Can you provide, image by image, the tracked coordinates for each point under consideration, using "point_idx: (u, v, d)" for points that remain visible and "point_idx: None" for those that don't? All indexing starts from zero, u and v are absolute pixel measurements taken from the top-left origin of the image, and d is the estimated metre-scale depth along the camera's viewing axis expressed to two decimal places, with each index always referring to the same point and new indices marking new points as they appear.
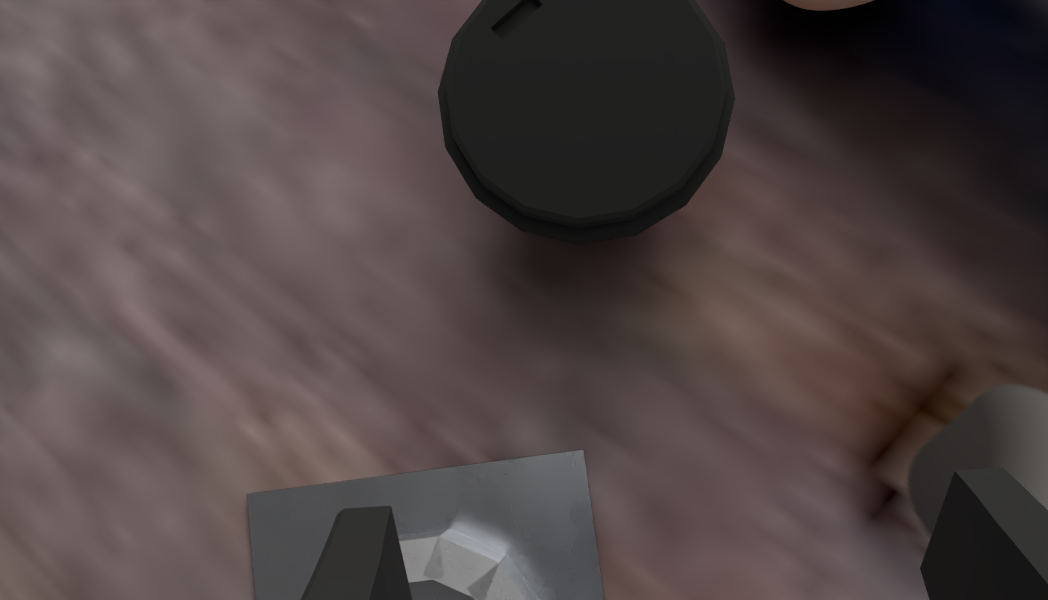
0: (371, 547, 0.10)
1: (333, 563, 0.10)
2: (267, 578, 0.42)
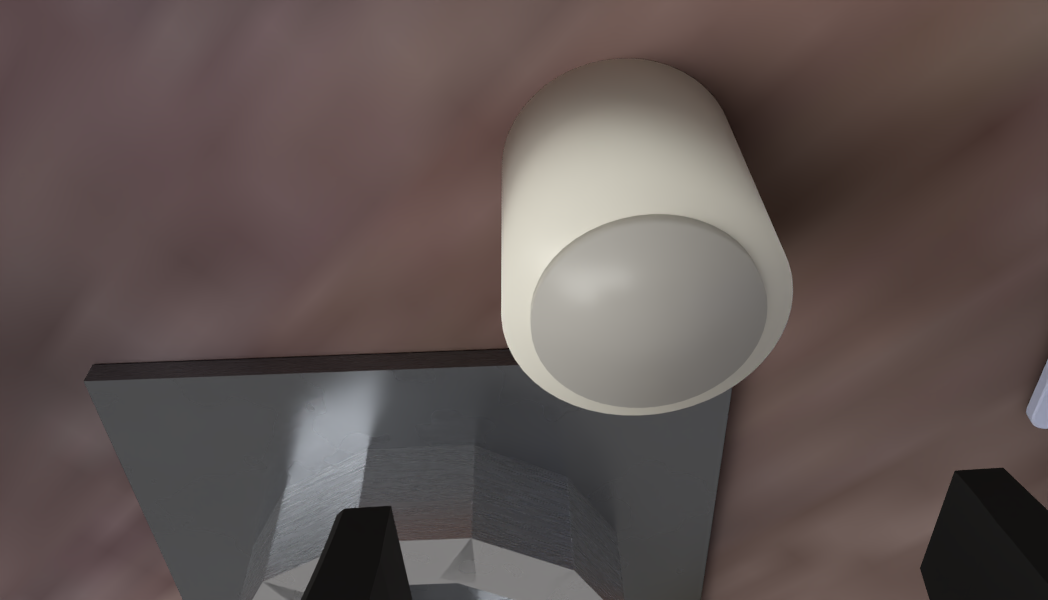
0: (371, 547, 0.10)
1: (333, 563, 0.10)
2: None
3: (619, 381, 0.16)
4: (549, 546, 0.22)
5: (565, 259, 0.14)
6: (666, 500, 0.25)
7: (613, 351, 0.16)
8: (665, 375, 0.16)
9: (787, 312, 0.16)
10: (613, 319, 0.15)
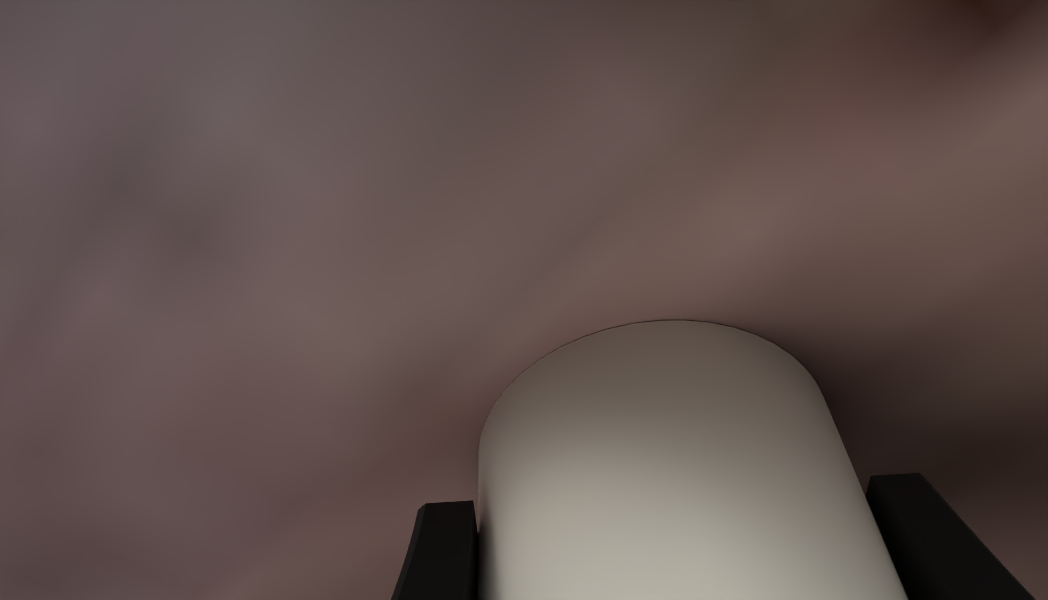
0: (459, 542, 0.10)
1: (422, 558, 0.10)
2: None
3: None
4: None
5: None
6: None
7: None
8: None
9: None
10: None
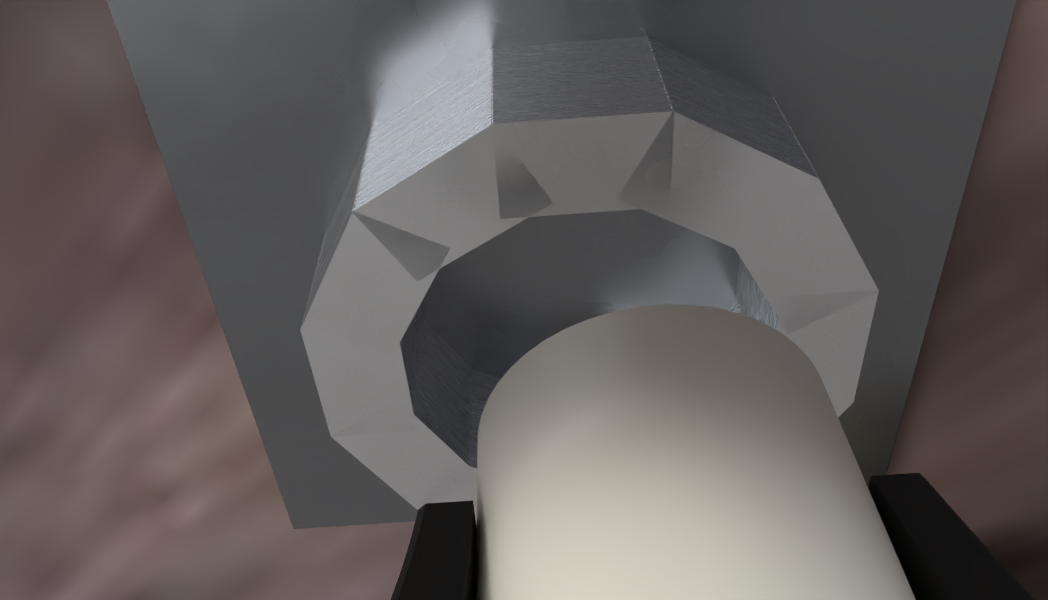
0: (459, 542, 0.10)
1: (423, 558, 0.10)
2: None
3: None
4: (778, 149, 0.15)
5: None
6: (909, 141, 0.18)
7: None
8: None
9: None
10: None
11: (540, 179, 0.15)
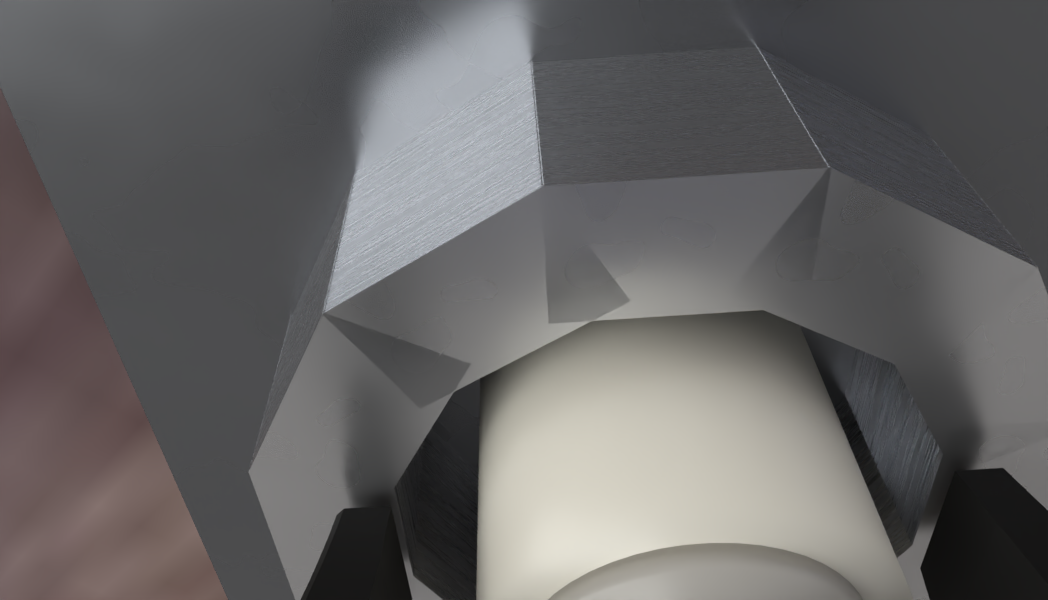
0: (371, 547, 0.10)
1: (333, 563, 0.10)
2: None
3: None
4: (971, 220, 0.10)
5: None
6: None
7: None
8: None
9: None
10: None
11: (613, 267, 0.09)
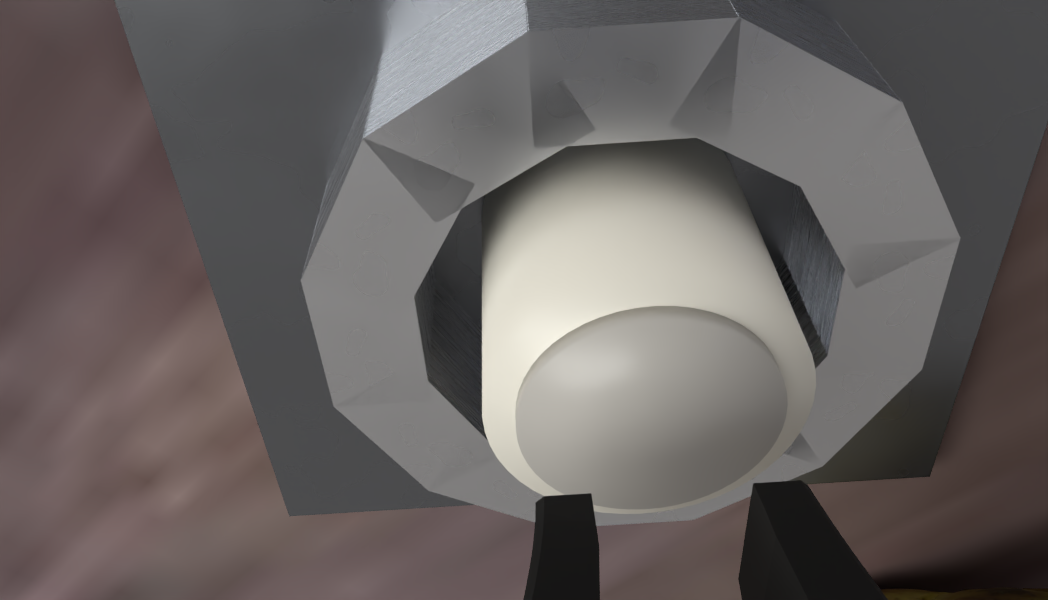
0: (586, 534, 0.10)
1: (552, 550, 0.10)
2: None
3: (617, 483, 0.14)
4: (854, 69, 0.13)
5: (555, 358, 0.12)
6: (986, 76, 0.16)
7: (610, 452, 0.14)
8: (670, 476, 0.14)
9: (808, 405, 0.14)
10: (611, 420, 0.13)
11: (581, 100, 0.13)
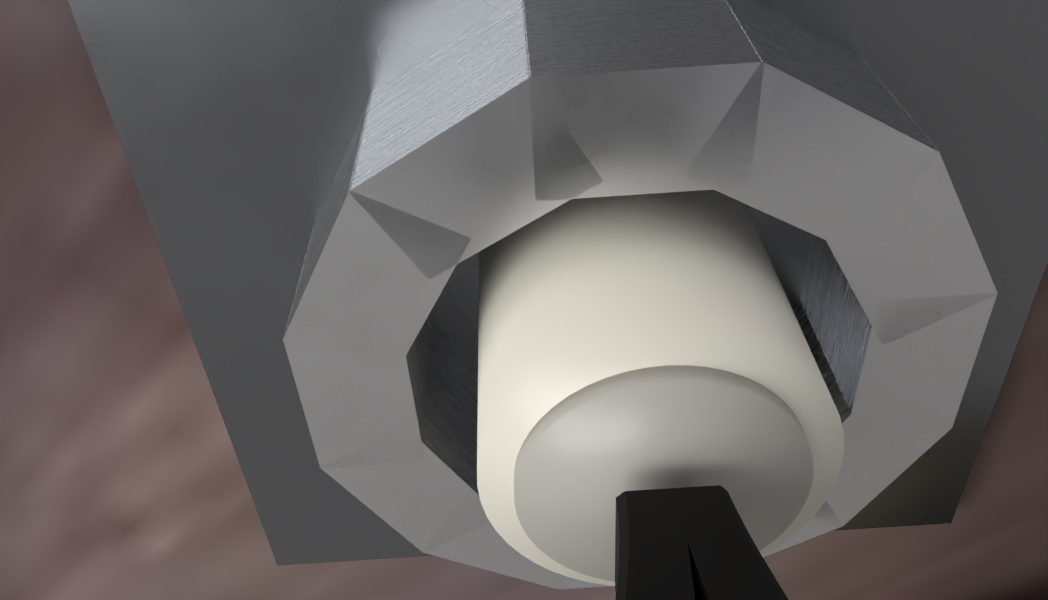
0: (672, 528, 0.10)
1: (640, 544, 0.10)
2: None
3: None
4: (886, 114, 0.12)
5: (556, 424, 0.11)
6: (1020, 113, 0.15)
7: None
8: None
9: (835, 469, 0.13)
10: (618, 488, 0.12)
11: (588, 150, 0.11)
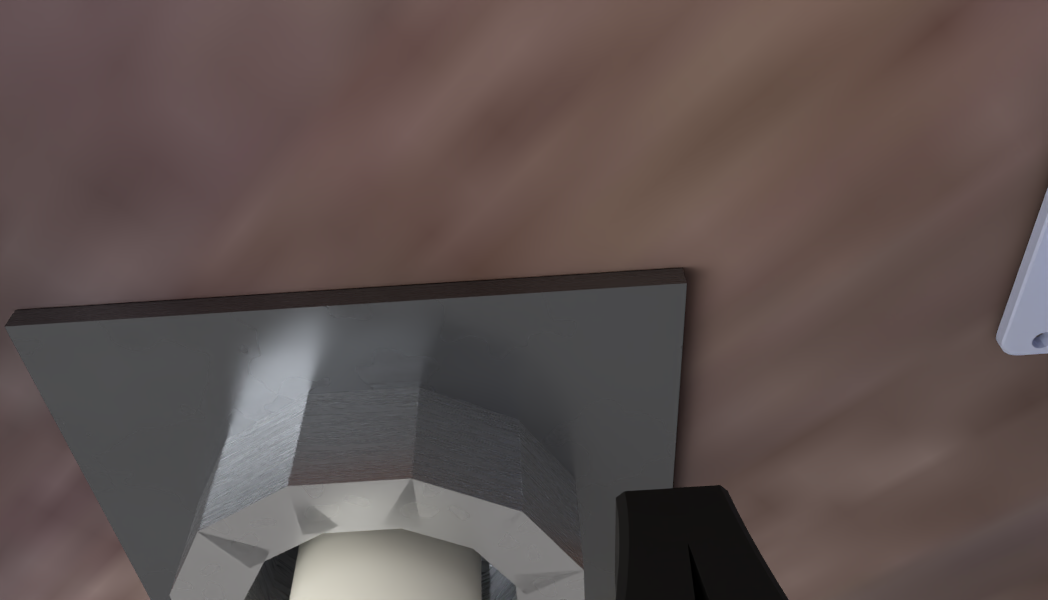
0: (672, 528, 0.10)
1: (640, 544, 0.10)
2: None
3: None
4: (496, 487, 0.21)
5: None
6: (624, 443, 0.24)
7: None
8: None
9: None
10: None
11: (326, 514, 0.21)
